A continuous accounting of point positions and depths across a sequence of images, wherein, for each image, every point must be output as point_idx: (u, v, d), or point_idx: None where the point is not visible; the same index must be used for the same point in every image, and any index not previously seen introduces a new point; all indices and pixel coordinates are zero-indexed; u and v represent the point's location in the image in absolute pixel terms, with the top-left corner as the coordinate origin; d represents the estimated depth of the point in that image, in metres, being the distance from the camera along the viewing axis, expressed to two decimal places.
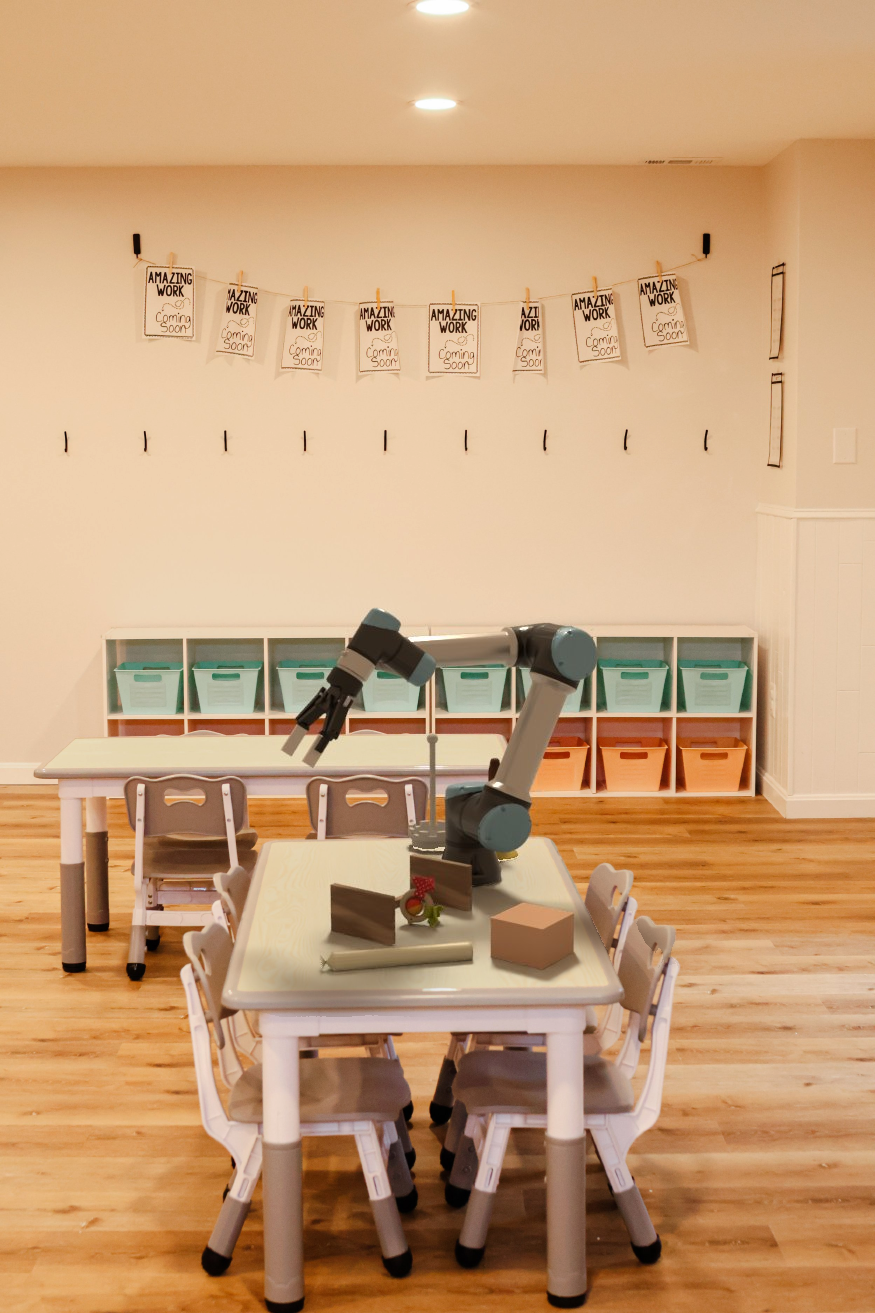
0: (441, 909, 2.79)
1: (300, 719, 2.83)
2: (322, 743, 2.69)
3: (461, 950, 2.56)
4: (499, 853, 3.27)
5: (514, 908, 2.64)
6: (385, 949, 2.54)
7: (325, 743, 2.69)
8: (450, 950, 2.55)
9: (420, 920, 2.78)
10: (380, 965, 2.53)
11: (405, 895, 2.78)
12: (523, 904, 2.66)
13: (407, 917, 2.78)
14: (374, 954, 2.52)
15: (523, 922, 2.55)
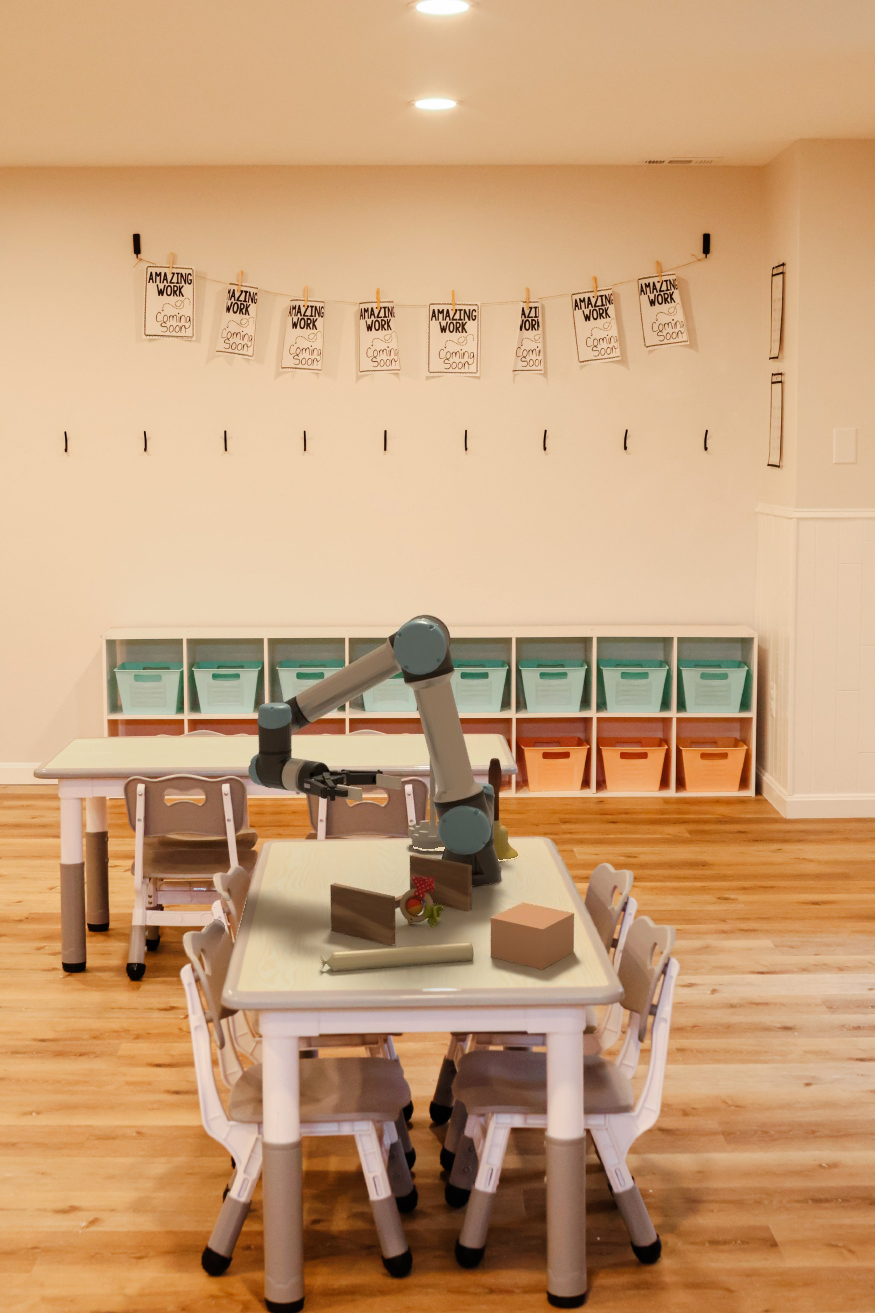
0: (441, 909, 2.79)
1: None
2: (337, 794, 2.78)
3: (461, 951, 2.56)
4: (499, 853, 3.27)
5: (514, 908, 2.64)
6: (385, 949, 2.54)
7: (336, 791, 2.78)
8: (450, 951, 2.55)
9: (420, 920, 2.78)
10: (380, 965, 2.53)
11: (405, 895, 2.78)
12: (523, 904, 2.66)
13: (407, 917, 2.78)
14: (374, 954, 2.52)
15: (523, 922, 2.55)
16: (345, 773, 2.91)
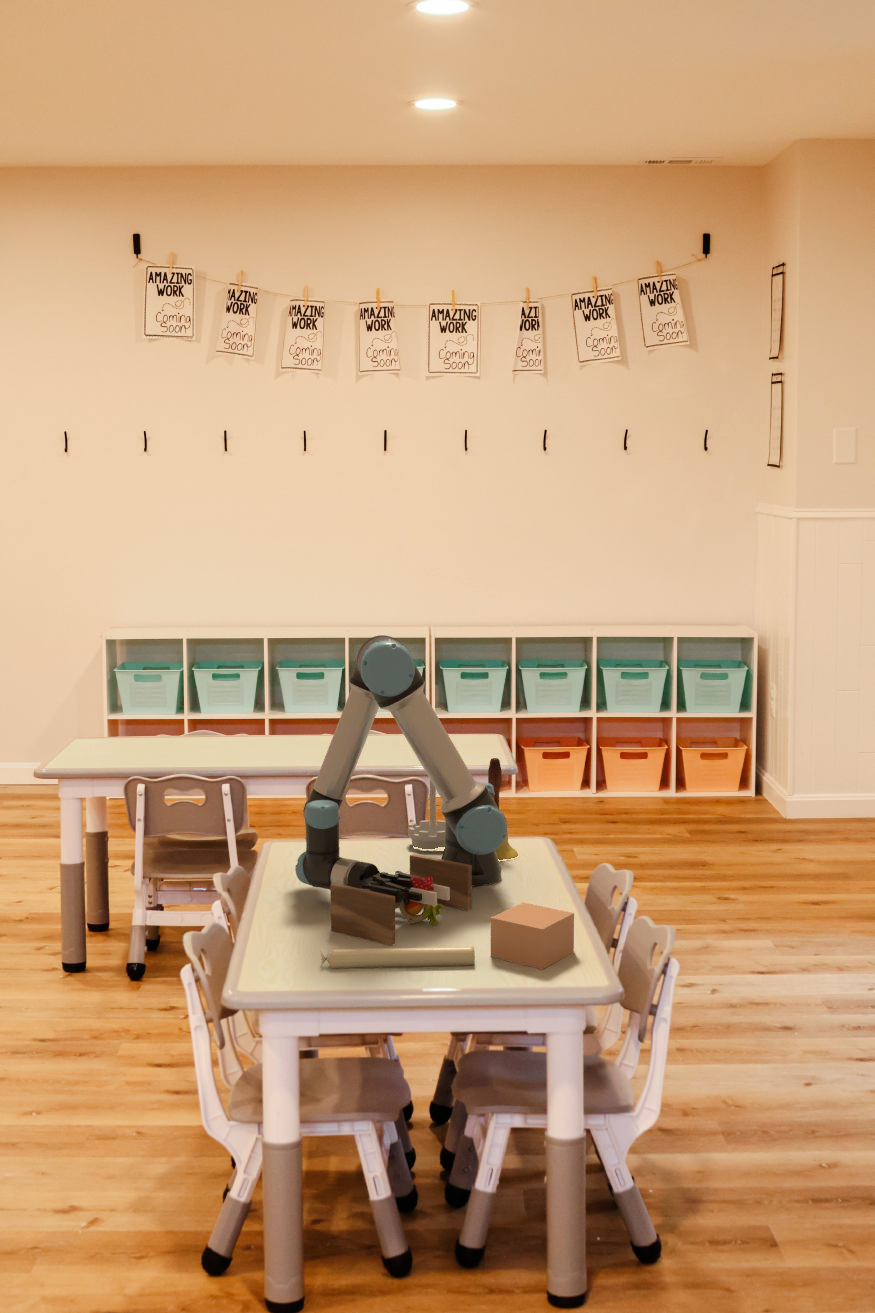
0: (440, 907, 2.79)
1: None
2: (411, 898, 2.75)
3: (462, 955, 2.53)
4: (499, 853, 3.27)
5: (514, 908, 2.64)
6: (385, 949, 2.54)
7: (410, 895, 2.75)
8: (451, 954, 2.53)
9: (420, 920, 2.77)
10: (379, 965, 2.53)
11: None
12: (523, 904, 2.66)
13: (407, 917, 2.78)
14: (373, 954, 2.53)
15: (523, 922, 2.55)
16: (393, 877, 2.84)
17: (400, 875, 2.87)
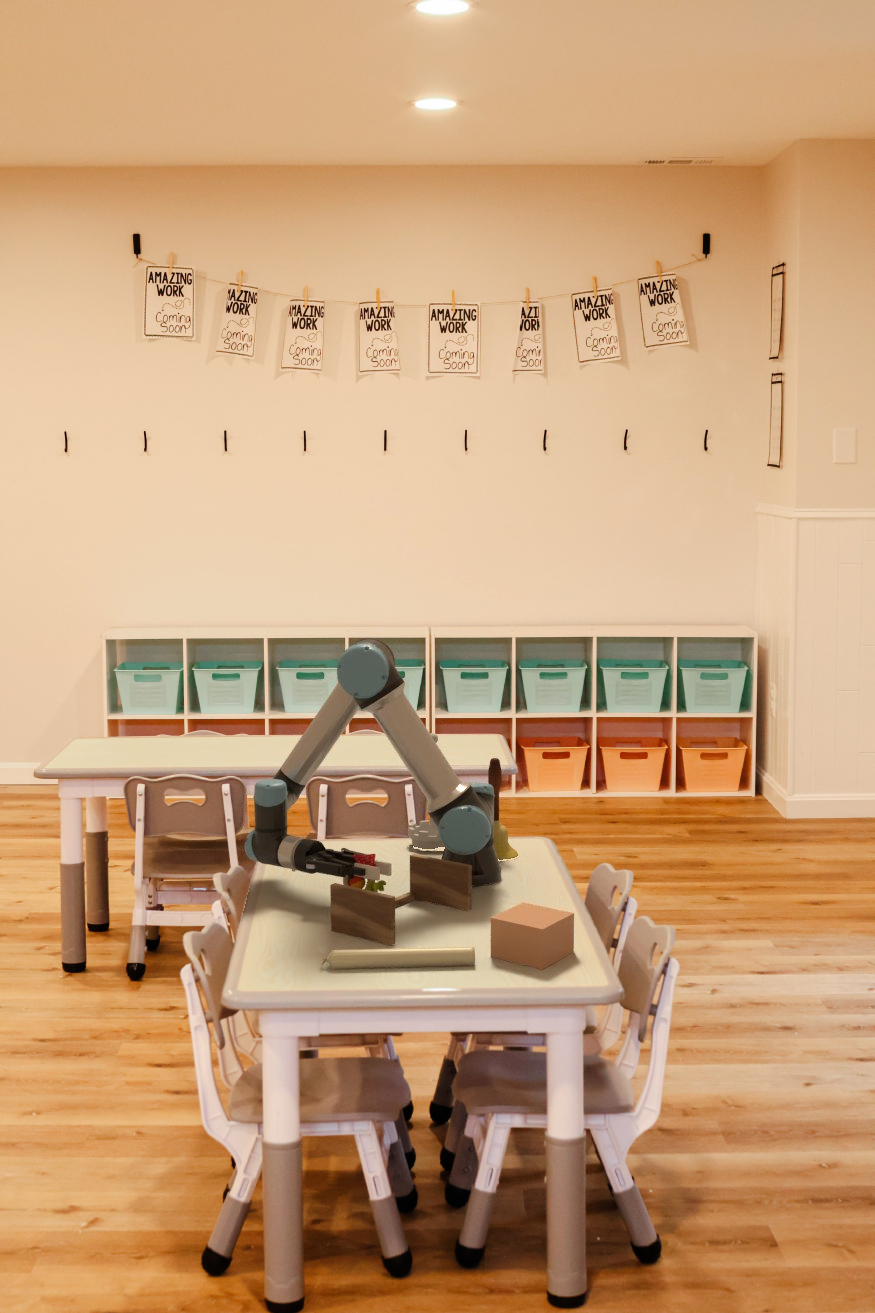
0: (383, 884, 2.87)
1: None
2: (355, 873, 2.83)
3: (462, 955, 2.53)
4: (499, 853, 3.27)
5: (514, 908, 2.64)
6: (386, 950, 2.53)
7: (354, 870, 2.83)
8: (451, 954, 2.53)
9: None
10: (379, 965, 2.52)
11: None
12: (523, 904, 2.66)
13: None
14: (374, 954, 2.52)
15: (523, 922, 2.55)
16: (337, 853, 2.91)
17: (345, 852, 2.95)
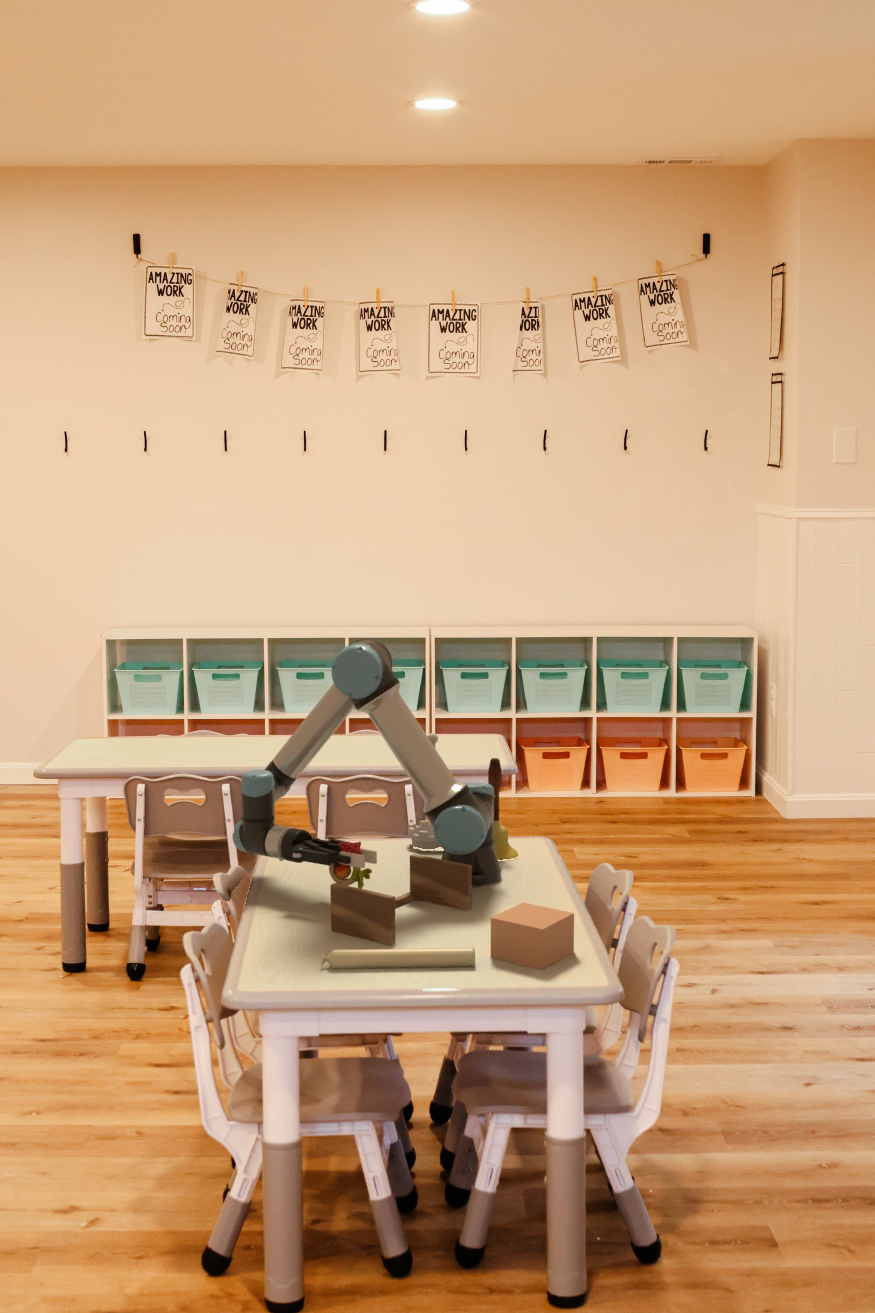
0: (369, 872, 2.89)
1: None
2: (340, 861, 2.85)
3: (462, 956, 2.53)
4: (499, 853, 3.27)
5: (514, 908, 2.64)
6: (386, 950, 2.53)
7: (339, 858, 2.86)
8: (451, 955, 2.53)
9: (348, 883, 2.88)
10: (379, 966, 2.52)
11: None
12: (523, 904, 2.66)
13: (336, 881, 2.89)
14: (374, 954, 2.52)
15: (523, 922, 2.55)
16: (324, 842, 2.94)
17: (332, 841, 2.97)
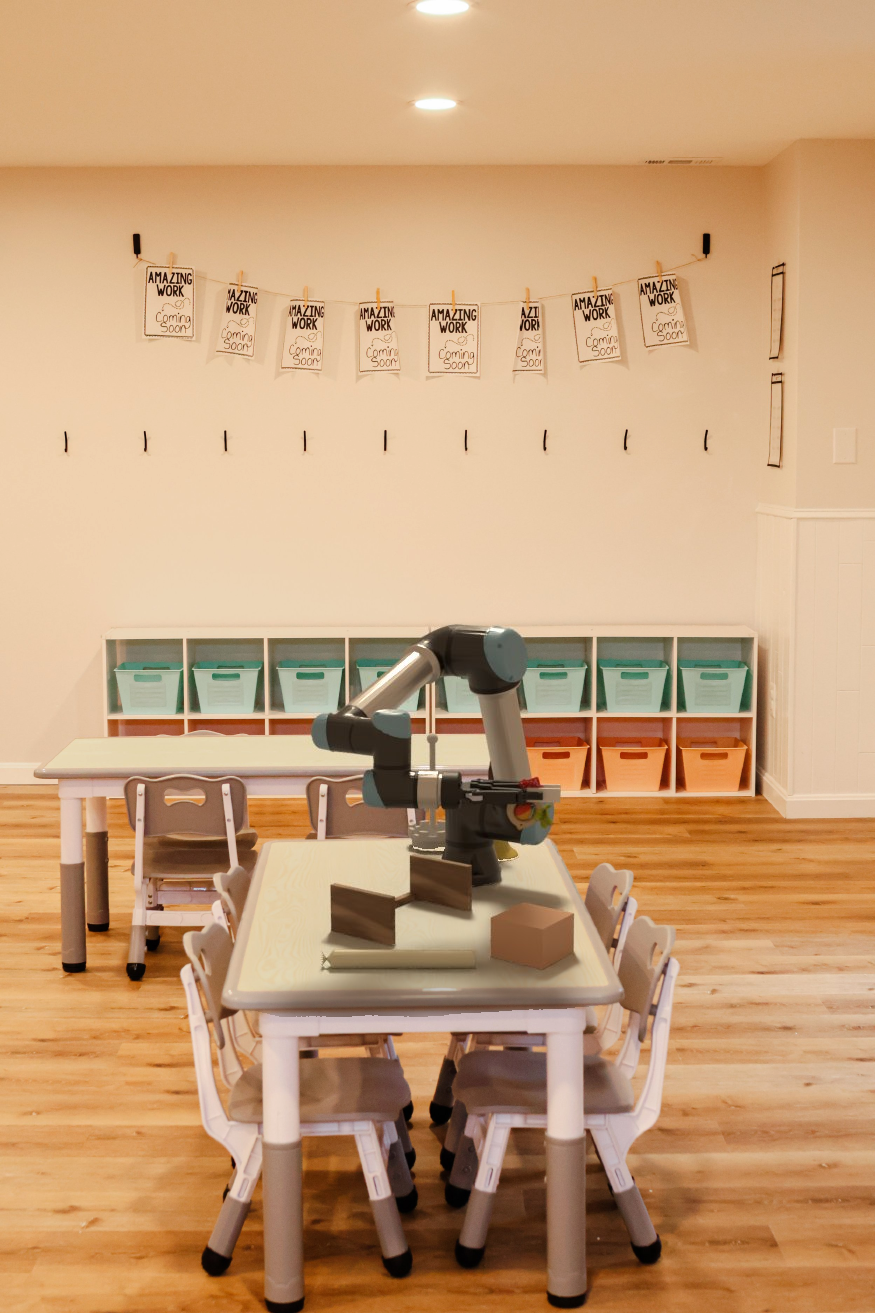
0: (548, 807, 2.59)
1: None
2: (532, 798, 2.52)
3: (463, 958, 2.52)
4: (499, 853, 3.27)
5: (514, 908, 2.64)
6: (386, 951, 2.53)
7: (531, 795, 2.52)
8: (451, 957, 2.52)
9: (531, 824, 2.57)
10: (379, 966, 2.52)
11: None
12: (523, 904, 2.66)
13: (517, 823, 2.56)
14: (374, 955, 2.52)
15: (523, 922, 2.55)
16: (488, 783, 2.58)
17: None
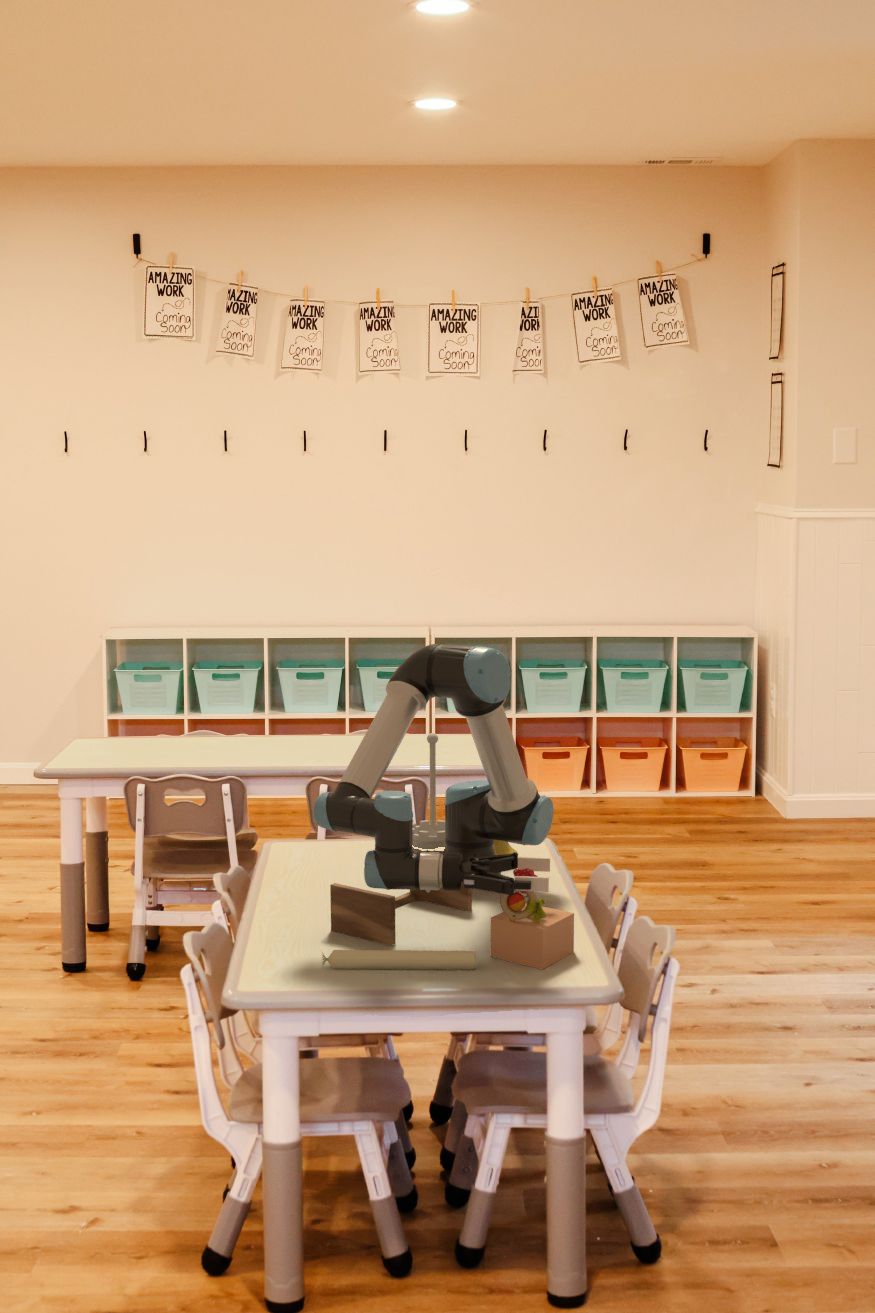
0: (542, 903, 2.58)
1: None
2: (520, 887, 2.50)
3: (463, 959, 2.51)
4: (499, 853, 3.27)
5: None
6: (386, 951, 2.53)
7: (519, 884, 2.50)
8: (451, 958, 2.51)
9: (524, 916, 2.55)
10: (379, 967, 2.52)
11: None
12: None
13: (510, 914, 2.54)
14: (374, 955, 2.52)
15: (523, 922, 2.55)
16: (488, 861, 2.61)
17: (481, 859, 2.65)
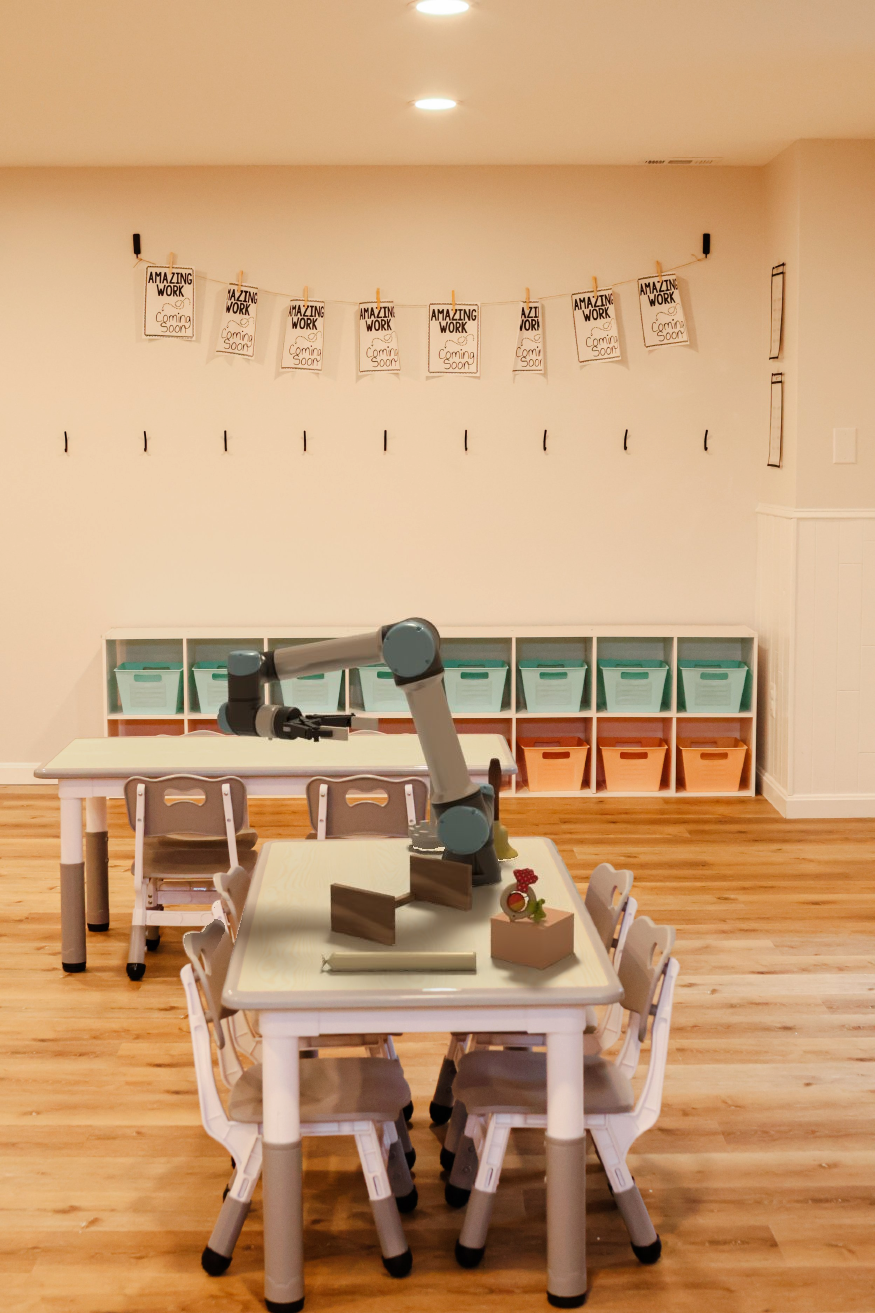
0: (542, 903, 2.58)
1: None
2: (322, 735, 2.81)
3: (463, 960, 2.51)
4: (499, 853, 3.27)
5: None
6: (386, 953, 2.52)
7: (321, 732, 2.81)
8: (452, 959, 2.51)
9: (524, 916, 2.55)
10: (380, 968, 2.51)
11: (506, 890, 2.54)
12: None
13: (509, 914, 2.54)
14: (374, 957, 2.51)
15: (523, 922, 2.55)
16: (320, 717, 2.94)
17: None
